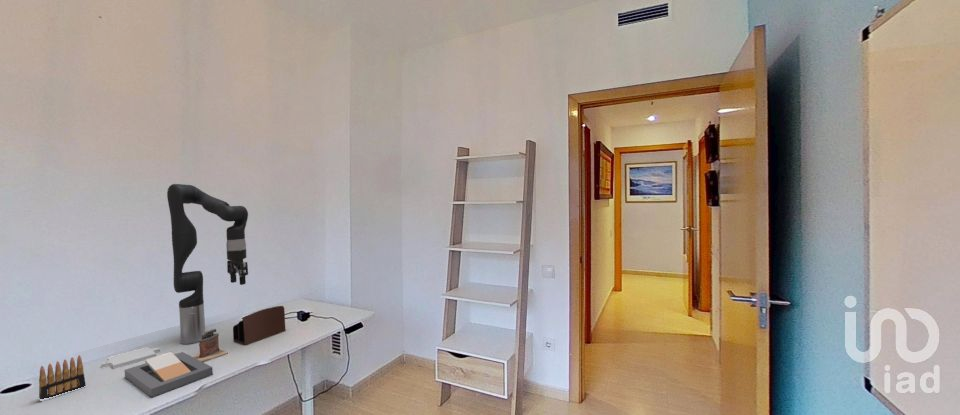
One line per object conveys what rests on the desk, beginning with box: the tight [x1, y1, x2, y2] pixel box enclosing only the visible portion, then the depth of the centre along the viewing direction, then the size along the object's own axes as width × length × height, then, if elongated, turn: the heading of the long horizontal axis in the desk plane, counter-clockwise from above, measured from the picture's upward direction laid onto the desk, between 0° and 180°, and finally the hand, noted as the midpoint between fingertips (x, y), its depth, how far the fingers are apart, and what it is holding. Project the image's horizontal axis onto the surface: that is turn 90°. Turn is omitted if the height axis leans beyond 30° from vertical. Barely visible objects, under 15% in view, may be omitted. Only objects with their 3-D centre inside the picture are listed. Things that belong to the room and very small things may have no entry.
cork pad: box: [190, 348, 228, 363], centre depth 155 cm, size 10×10×1 cm
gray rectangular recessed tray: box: [123, 351, 214, 398], centre depth 138 cm, size 28×18×3 cm, turn 58°
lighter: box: [198, 328, 220, 358], centre depth 156 cm, size 8×3×10 cm, turn 165°
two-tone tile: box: [144, 351, 191, 381], centre depth 138 cm, size 20×8×1 cm, turn 59°
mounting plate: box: [100, 346, 161, 370], centre depth 154 cm, size 18×13×2 cm
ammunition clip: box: [38, 355, 87, 399], centre depth 127 cm, size 11×2×12 cm, turn 153°
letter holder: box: [232, 305, 286, 346], centre depth 176 cm, size 10×20×14 cm, turn 151°
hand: (238, 283), depth 168 cm, fingers open, 8 cm apart
